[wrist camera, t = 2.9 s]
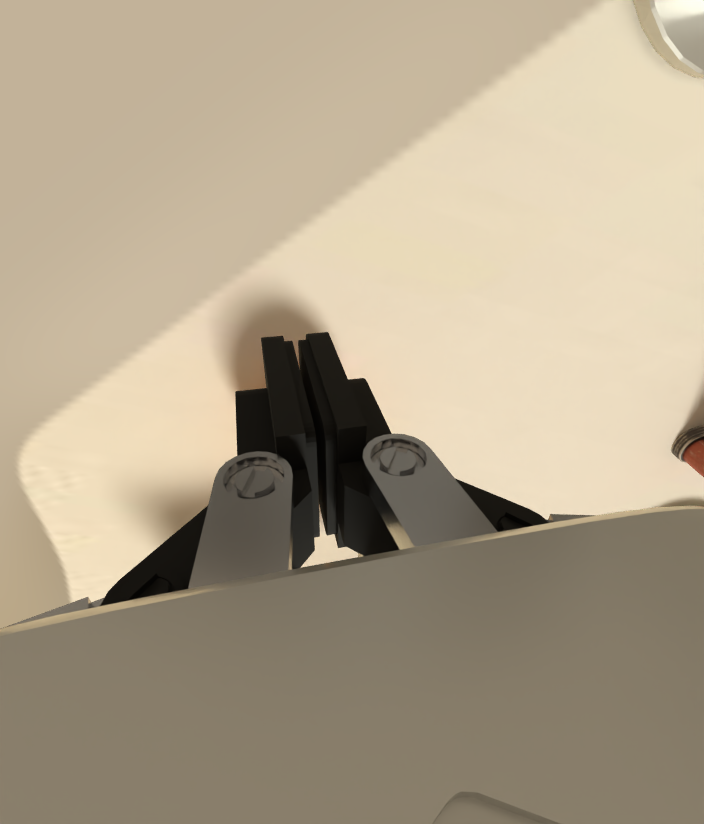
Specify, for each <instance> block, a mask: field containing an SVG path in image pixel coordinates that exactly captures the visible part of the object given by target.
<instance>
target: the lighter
mask: <svg viewBox="0 0 704 824" xmlns="http://www.w3.org/2000/svg"><path fill="white" fill-rule="evenodd" d="M671 452H672V453H673V454H674V455H675V456H676V457H677V458H678V459H679V460H680V461H682V462H687V463H688V464H689V465H690V466H691V467H693V468H694V469H695V470H696V471H697V472H698V473H699V474H701V475H702V476H703V477H704V425H703V426H700V427H697V428H694V429H690V430H688V431H686V432H684V433H683V434H682V435H680V436H679V437H678V438H677V439H676V440H675V442H674V443H673V445H672V448H671Z"/></svg>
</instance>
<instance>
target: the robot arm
mask: <svg viewBox="0 0 704 824" xmlns="http://www.w3.org/2000/svg"><path fill="white" fill-rule="evenodd" d="M633 2H634V5H635V8H636V11H637V15H638V18H639V21H640V24H641V27H642V29H643V31H644V32H645V34H646V36H647V37H648V39H649V41H650V43H651V44H652V46H653V48H654V49H655V51H656V52H657V53H658V54H659V55H660V56H661V57H662V58H664V59H665V60H666V61H667V62H668V63H669V64H670V65H671V66H672V67H673V68H675V69H677V70H679V71H682V72H684V73H686V74H688V75H691V76H693V77H697V78H704V0H633ZM261 342H262V351H263V360H264V369H265V378H266V387H267V388H264V389H254V390H245V391H236V426H237V456H236V457H234V458H232V459H231V460H229V461H227V462H226V463H225V464H224V465H223V466H222V467H221V468H220V469H219V471H218V473H217V475H216V477H215V480H214V484H213V488H212V492H211V496H210V501H209V505H208V506H207V507H206V508H205V509H203V510H202V511H201V512H200V513H199V514H197V515H196V516H195V517H194V518H193V519H191V520H190V521H189V522H188V523H187V524H185V525H184V526H183V527H182V528H181V529H180V530H178V531H177V532H176V533H175V534H174V535H172V536H171V537H170V538H169V539H168V540H166V541H165V542H164V543H163V544H162V545H160V546H159V547H158V548H157V549H156V550H155V551H153V552H152V553H151V554H150V555H149V556H147V557H146V558H145V559H144V560H143V561H141V562H140V563H139V564H138V565H137V566H135V567H134V568H133V569H132V570H131V571H130V572H128V573H127V574H126V575H125V576H124V577H122V578H121V579H120V580H119V581H118V582H117V583H116V584H115V585H114V586H113V587H112V588H111V589H110V590H109V591H108V593H107V594H106V596H105V598H102V599H100V600H97V601H94V602H92V603H91V601H90V599H89V598H88V597H86V598H84V599H81V600H78V601H75V602H73V603H70V604H67V605H65V606H62V607H59V608H56V609H53V610H51V611H48V612H45V613H43V614H40V615H37V616H34V617H31V618H29V619H26V620H23V621H21V622H18V623H15V624H12V625H9V626H7V627H4V628H0V824H704V506H673V507H655V508H647V509H640V510H632V511H623V512H615V513H609V514H603V515H597V516H596V515H560V514H550V516H549V519H548V520H545V519H544V518H543V517H542V516H541V515H539V514H537V513H535V512H534V511H532V510H530V509H528V508H525V507H523V506H520V505H518V504H516V503H513V502H511V501H508V500H506V499H503V498H501V497H499V496H496V495H494V494H491V493H489V492H486V491H484V490H482V489H479V488H477V487H474V486H472V485H469V484H467V483H465V482H462V481H460V480H457V479H455V478H454V477H453V476H452V475H451V473H450V472H449V471H448V470H447V468H446V467H445V466H444V465H443V463H442V462H441V461H440V460H439V458H438V457H437V456H436V455H435V453H434V452H433V451H432V450H431V449H430V448H429V447H428V446H427V445H426V444H425V443H424V442H423V441H421V440H419V439H417V438H415V437H412V436H408V435H405V434H391V432H390V429H389V427H388V425H387V423H386V421H385V419H384V417H383V415H382V413H381V410H380V408H379V406H378V404H377V402H376V400H375V398H374V396H373V394H372V391H371V389H370V387H369V385H368V383H367V381H366V380H365V379H364V378H360V379H350V380H348V379H347V376H346V374H345V372H344V369H343V367H342V364H341V362H340V360H339V357H338V355H337V352H336V350H335V347H334V345H333V343H332V340H331V338H330V335H329V333H328V332H324V333H312V334H306V340H299V342H298V346H299V364H300V369H299V365H298V361H297V357H296V354H295V350H294V346H293V342H292V341H286V342H284V338H283V336H276V337H264V338H261ZM319 504H320V509H321V513H322V518H323V522H324V527H325V531H326V534H327V535H331V534H335V537H336V541H337V545H338V548H341V547H348V548H350V549H352V550H354V551H356V552H358V557H357V558H352V559H346V560H341V561H335V562H330V563H324V564H319V565H314V566H308V567H303V568H300V567H301V566H302V565H303V563H304V562H305V561H306V560H307V559H308V558H309V556H310V555H311V554H312V553H313V552H314V550H315V546H314V537H319V536H320V527H319Z"/></svg>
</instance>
